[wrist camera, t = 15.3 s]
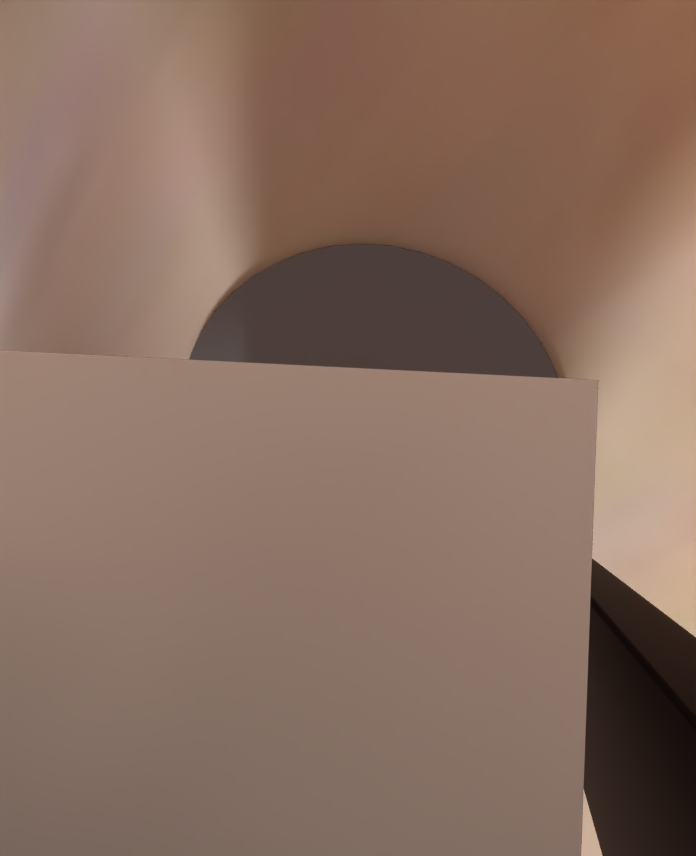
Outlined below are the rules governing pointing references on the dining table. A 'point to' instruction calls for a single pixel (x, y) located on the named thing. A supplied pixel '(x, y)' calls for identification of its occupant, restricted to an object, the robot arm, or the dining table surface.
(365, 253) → the disc
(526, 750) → the white block
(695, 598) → the dining table surface
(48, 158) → the dining table surface
